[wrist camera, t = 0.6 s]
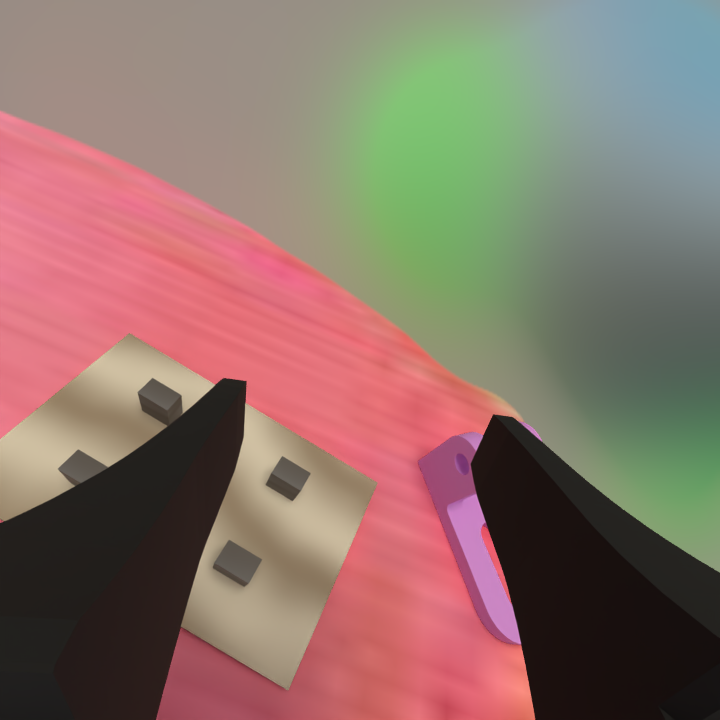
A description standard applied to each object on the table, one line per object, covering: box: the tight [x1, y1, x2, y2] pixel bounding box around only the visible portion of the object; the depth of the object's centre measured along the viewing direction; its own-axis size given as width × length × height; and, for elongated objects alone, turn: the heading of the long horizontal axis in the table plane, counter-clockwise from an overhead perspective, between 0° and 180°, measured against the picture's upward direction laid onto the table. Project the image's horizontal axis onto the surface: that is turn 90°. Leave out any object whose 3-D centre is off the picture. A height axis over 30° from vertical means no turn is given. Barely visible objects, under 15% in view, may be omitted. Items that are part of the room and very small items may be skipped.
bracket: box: [418, 421, 542, 645], centre depth 26 cm, size 13×6×7 cm, turn 19°
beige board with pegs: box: [0, 333, 377, 690], centre depth 23 cm, size 12×20×4 cm, turn 64°
